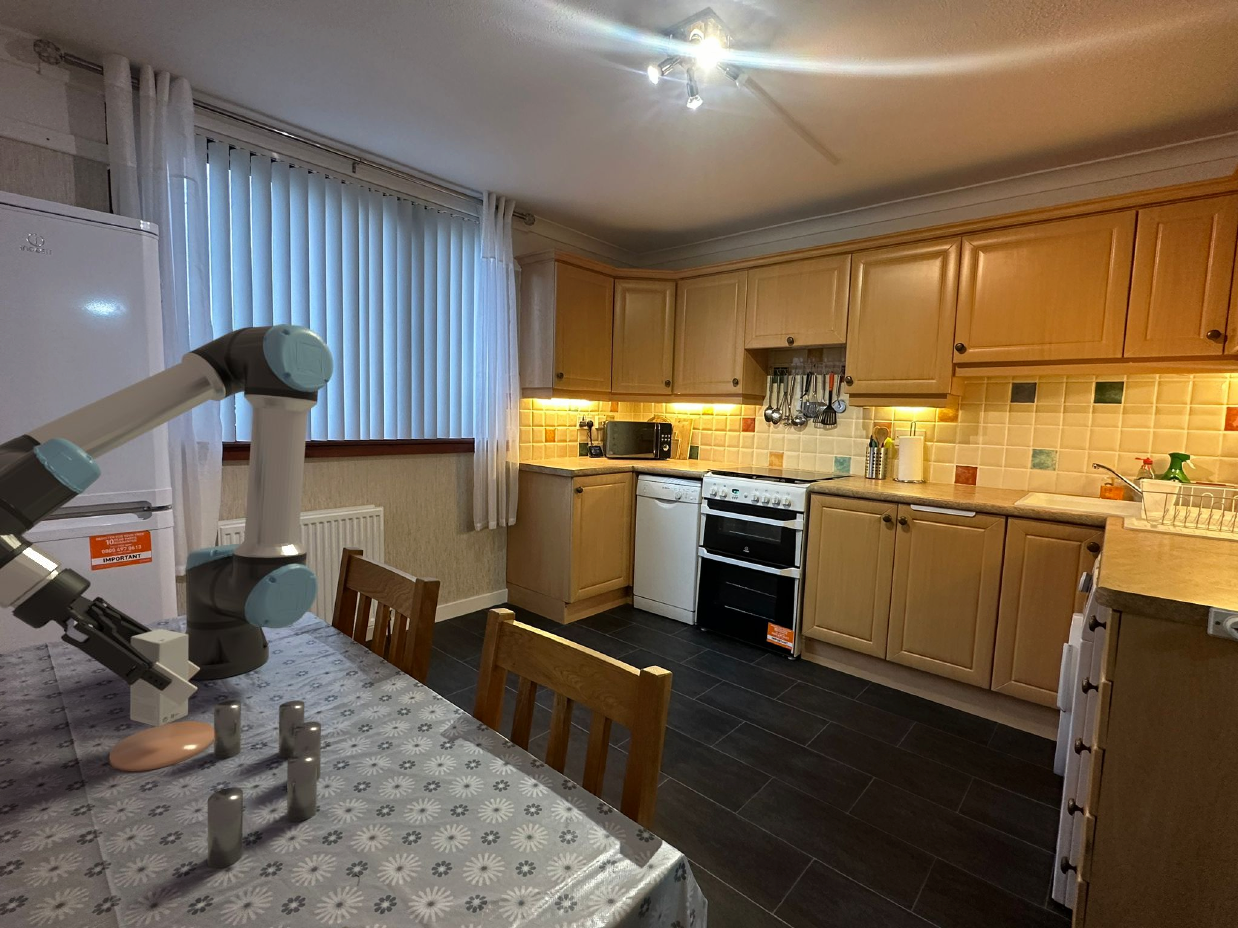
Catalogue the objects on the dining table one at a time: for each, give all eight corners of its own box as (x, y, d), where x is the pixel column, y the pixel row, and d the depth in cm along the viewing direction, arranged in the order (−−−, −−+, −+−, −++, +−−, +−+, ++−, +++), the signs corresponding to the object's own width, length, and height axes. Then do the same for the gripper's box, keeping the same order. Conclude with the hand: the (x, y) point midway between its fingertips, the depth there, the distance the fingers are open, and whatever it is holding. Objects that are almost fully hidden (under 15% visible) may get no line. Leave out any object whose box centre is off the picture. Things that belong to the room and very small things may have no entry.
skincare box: (189, 715, 86) (190, 634, 85) (158, 728, 82) (158, 643, 81) (160, 707, 88) (160, 627, 87) (128, 719, 84) (128, 636, 83)
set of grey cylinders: (255, 732, 91) (256, 687, 90) (376, 771, 82) (377, 722, 81) (92, 812, 71) (91, 755, 71) (227, 875, 62) (227, 811, 62)
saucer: (181, 719, 93) (181, 714, 93) (233, 737, 89) (233, 732, 89) (89, 757, 82) (89, 751, 82) (144, 779, 78) (144, 773, 78)
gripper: (31, 591, 84) (173, 681, 94) (-19, 634, 67) (160, 739, 77) (81, 551, 87) (214, 643, 96) (45, 584, 70) (210, 691, 80)
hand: (190, 685), depth 87 cm, fingers closed on skincare box, 7 cm apart
